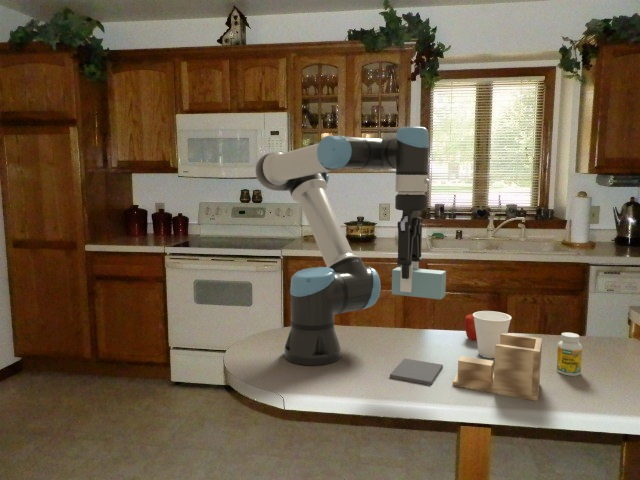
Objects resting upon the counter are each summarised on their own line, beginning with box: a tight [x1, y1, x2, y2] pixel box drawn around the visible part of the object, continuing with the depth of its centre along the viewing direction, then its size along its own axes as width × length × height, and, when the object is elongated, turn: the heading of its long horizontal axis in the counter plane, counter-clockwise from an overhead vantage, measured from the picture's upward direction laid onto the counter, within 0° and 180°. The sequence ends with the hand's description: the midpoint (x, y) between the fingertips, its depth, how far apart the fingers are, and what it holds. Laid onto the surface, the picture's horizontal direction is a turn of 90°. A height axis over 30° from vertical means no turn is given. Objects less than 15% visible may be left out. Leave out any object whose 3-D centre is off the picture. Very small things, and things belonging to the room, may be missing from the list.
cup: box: [472, 310, 512, 359], centre depth 135 cm, size 10×10×11 cm
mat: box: [389, 357, 444, 386], centre depth 123 cm, size 10×12×1 cm
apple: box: [464, 313, 477, 342], centre depth 148 cm, size 6×6×8 cm
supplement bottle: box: [556, 332, 583, 377], centre depth 123 cm, size 5×5×10 cm
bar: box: [391, 266, 447, 300], centre depth 120 cm, size 12×4×6 cm, turn 64°
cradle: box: [452, 333, 543, 402], centre depth 115 cm, size 18×10×11 cm, turn 64°
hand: (409, 289), depth 122 cm, fingers closed on bar, 4 cm apart
